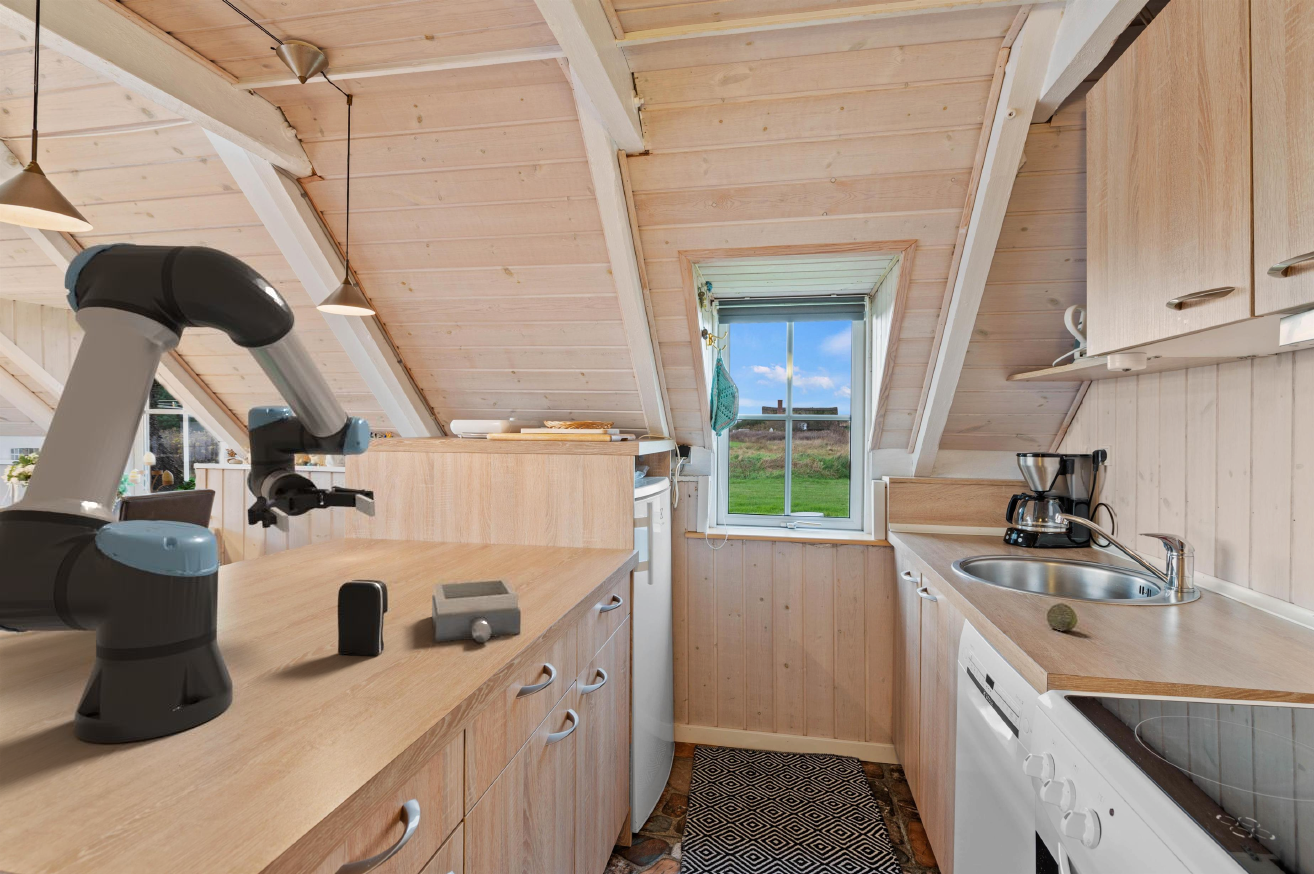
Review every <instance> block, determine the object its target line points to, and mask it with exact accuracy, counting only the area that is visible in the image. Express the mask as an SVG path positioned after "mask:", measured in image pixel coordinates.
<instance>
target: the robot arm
mask: <svg viewBox="0 0 1314 874" xmlns="http://www.w3.org/2000/svg"><path fill="white" fill-rule="evenodd" d="M64 289H65V290H68V293H67V294H66V295H65V297H66V300H67V302H68V304H69V306H70V308H71V310H72V311H73V312H74V313H75V315H74V319H75V321H76V323H77V324H78V326H80V328H81V329H82V330H83V331H84V333H83V337H82V340H81V342H80V346H79V348H78V350H77V353H76V356H75V359H74V361H73V364H72V366H71V369H70V370H69V371H70V372H69V375H68V377H67V379H66V382H65V385H64V388H63V391H62V394H61V395H60V398H59V401H58V403H57V407H56V408H55V412H54V415H53V417H52V419H51V422H50V425H49V427H48V429H47V433H46V435H45V439H44V441H43V443H42V446H41V448H40V451H39V453H38V456H37V459H36V462H35V464H34V467H33V469H32V473H31V475H30V478H29V480H28V483H27V484H26V485H27V486H26V488H25V491H24V494H23V497H22V498H21V499H20V500H19V501H17V502H14V503H12V504H10V505H8V506H6V507H3V508H2V509H0V631H4V632H7V633H8V632H9V633H10V632H11V633H26V632H29V631H30V632H38V631H39V632H40V631H41V632H43V631H44V632H45V631H46V632H49V631H50V632H51V631H53V632H55V631H58V632H59V631H60V632H61V631H63V632H65V631H67V632H69V631H73V632H74V631H75V632H76V631H79V632H80V631H86V632H87V631H95V632H96V633H95V648H96V649H95V664H94V666H93V668H92V671H91V673H90V675H89V678H88V680H87V683H86V685H85V687H84V690H83V692H82V695H81V698H80V699H79V703H78V705H77V708H76V709H75V714H74V735H75V737H76V738H77V739H79V740H81V741H85V742H89V743H94V744H95V743H96V744H120V743H130V742H137V741H143V740H150V739H154V738H159V737H163V736H168V735H170V734H175V733H178V732H182V731H184V730H187V729H190V728H192V727H196V726H198V725H200V724H203V723H205V722H207V721H210V720H212V719H213V718H216V717H218V716H219V715H220V714H223V713H224V712H225V711H226V710H227V709H228V708H229V707H230V706H231V704H232V703H233V700H234V699H233V697H234V696H233V694H234V693H233V692H234V691H233V687H234V685H233V680H232V677H231V676H230V673H229V670H228V668H227V665H226V663H225V660H224V657H223V655H222V653H221V650H220V648H219V645H218V644H219V643H218V602H219V601H218V600H219V597H218V596H219V594H218V593H219V569H220V566H221V560H220V558H219V548H218V547H219V546H218V540H217V537H216V535H215V534H214V533H213V532H212V531H211V529H209V528H207V527H205V526H202V525H199V524H194V523H191V522H182V521H172V520H158V519H157V520H147V519H145V520H144V519H136V520H123V521H121V522H119V521H118V520H119V519H118V518H117V517H116V516H115V514H114V513H113V508H114V505H115V503H116V499H117V496H118V493H119V489H120V486H121V484H122V480H123V476H124V473H125V471H126V468H127V466H128V461H129V459H130V455H131V452H132V449H133V446H134V443H135V440H136V436H137V433H138V430H139V428H140V424H141V421H142V417H143V415H144V412H145V409H146V405H147V402H148V399H149V396H150V393H151V390H152V387H153V384H154V381H155V377H156V374H157V371H158V368H159V364H160V361H161V359H162V355H163V354H164V353H167V352H171V351H173V350H176V349H177V348H178V347H179V345H180V342H181V339H182V337H183V336H182V335H183V332H184V330H185V329H186V328H209V329H210V328H211V329H216V330H217V331H218V330H219V331H221V332H223V333H225V334H227V336H228V337H229V338H230V340H231V341H232V342H233V343H234V344H235V345H236V346H239V347H241V348H244V349H247V351H248V352H249V353H250V355H251V356H252V357H253V359H254V361H256V363H257V365H258V366H259V367H260V368H261V370H262V371H263V372H264V374H265V375H266V377H268V379H269V381H270V383H272V385H273V386H274V387H275V388H276V390H277V392H279V394H280V395H281V397H282V398H283V399H284V401H285V403H287V405H288V406H287V405H259V406H255V407H252V408H251V409H249V410H248V414H247V415H248V416H247V419H248V420H247V425H248V426H247V432H248V441H249V451H250V453H249V454H250V470H249V473H248V475H247V478H246V484H247V485H246V486H247V488H248V490H249V491H250V492H251V494H252V495H253V496H254V497H255V498H256V501H255V502H254V503H253V504H252V505H251V506H250V507H249V508H248V509H247V519H248V520H247V523H248V525H250V526H253V525H255V526H256V525H257V524H258V523H259V522H261V527H262V528H263V529H269V528H271V526H274V527H275V528H277V529H278V530H280V531H281V532H283V533H288V532H290V529H289V527H290V526H289V517H298V516H302V515H305V514H306V513H308V512H310V511H311V510H314V509H315V510H316V509H318V510H319V509H321V510H322V509H324V510H325V509H328V508H330V507H339V508H340V507H341V508H355V509H356V510H357V511H359V512H361V513H363V514H365V515H366V516H369V518H370V517H376V508H375V507H376V506H375V502H376V501H375V498H374V497H375V496H374V491H373V490H365V489H364V488H363V489H357V488H356V489H355V488H348V487H340V486H337V485H333V486H331V490H330V489H329V488H318V487H317V486H316V484H315V483H314V482H313V480H311V479H309V478H307V477H305V476H303V475H301V474H300V473H297V472H296V457H295V455H317V456H319V455H322V456H326V455H327V456H342V457H346V456H355V455H357V456H360V455H362V454H364V453H366V451H367V450H368V449H369V445H370V443H371V428H370V425H369V422H368V421H367V420H366V419H364V418H363V417H356V416H351V417H350V416H349V415H348V413H347V412H346V410H345V409H344V407H343V406H342V404H341V402H340V401H339V400H338V398H337V396H336V395H335V393H334V391H333V389H332V388H331V386H330V384H329V383H328V382H327V379H326V378H325V376H324V375H323V373H322V371H321V369H320V368H319V367H318V364H317V363H316V361H315V360H314V358H313V357H312V355H311V353H310V352H309V349H307V347H306V345H305V342H303V341H302V339H301V337H300V335H299V334H298V332H297V330H296V329H295V324H296V317H295V315H294V312H293V311H292V309H291V307H290V306H289V304H288V303H287V301H286V300H285V298H284V297H283V296H282V294H281V293H280V292H279V290H277V288H275V286H274V285H273V284H271V282H270V281H268V279H266V278H265V277H264V276H263V275H262V274H261V273H259V272H258V271H257V270H255V269H254V268H253V267H252V266H250V265H249V264H247V263H245V262H244V261H242V260H240V259H239V258H237V257H235V256H234V255H231V254H229V253H227V252H226V251H225V252H224V251H222V250H221V249H216V248H213V247H208V246H203V245H188V246H187V245H186V246H184V245H151V244H148V245H145V244H136V243H127V242H116V243H110V244H98V245H92V246H89V247H87V248H85V249H83V250H81V251H80V252H79V253H78V254H77V255H75V256H74V257H73V259H71V261H70V263H69V265H68V267H67V269H66V272H65V275H64ZM293 413H294V414H293Z"/></svg>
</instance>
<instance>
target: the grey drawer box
mask: <svg viewBox="0 0 1314 874" xmlns="http://www.w3.org/2000/svg"><path fill="white" fill-rule="evenodd" d="M433 587H434V591H433V593H434V594H433V595H432V596H431V598H432V599H431V619H433V620H432V626H433V632H434V638H435V643H444V642H452V641H451V640H454V641H462V640H461V639H464V640H471V638H473V640H474V641H476V642H477V643H484V642H485V643H486V641H488V640H489V639H490V638H491V637H490V636H493V637H496V636H495V635H502V636H506V635H505V634H512V635H519V634H518V633H520V634H521V618H522V617H521V615H522V613H521V612H522V610H521V608H519V603H518V601H519V595H518V593H517V592H516V590H515V589H514V587H513V586H512V585H511V583H510V581H508V579H507V578H499V579H498V578H497V579H484V580H482V579H481V580H471V581H456V582H442V583H440V582H439V583H434V586H433Z"/></svg>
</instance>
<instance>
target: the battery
mask: <svg viewBox="0 0 1314 874" xmlns="http://www.w3.org/2000/svg"><path fill="white" fill-rule="evenodd" d="M388 595H389V594H388V587H387V585H386V583H385V582H383V581H381V580H375V579H354V580H350V581H346V582H344V583H343V584H342V585H341V586H340V587H339V589H338V593H337V631H338V635H337V636H338V637H337V638H338V639H337V640H338V641H337V643H338V644H337V653H338V654H342V655H351V656H378V655H380V654H381V653H382V652H383V651H384V650H385V643H384V637H383V629H384V616H385V614H386V613H387V612H388V609H389V607H388V604H389V602H388V601H389V599H388V597H389V596H388Z"/></svg>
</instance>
